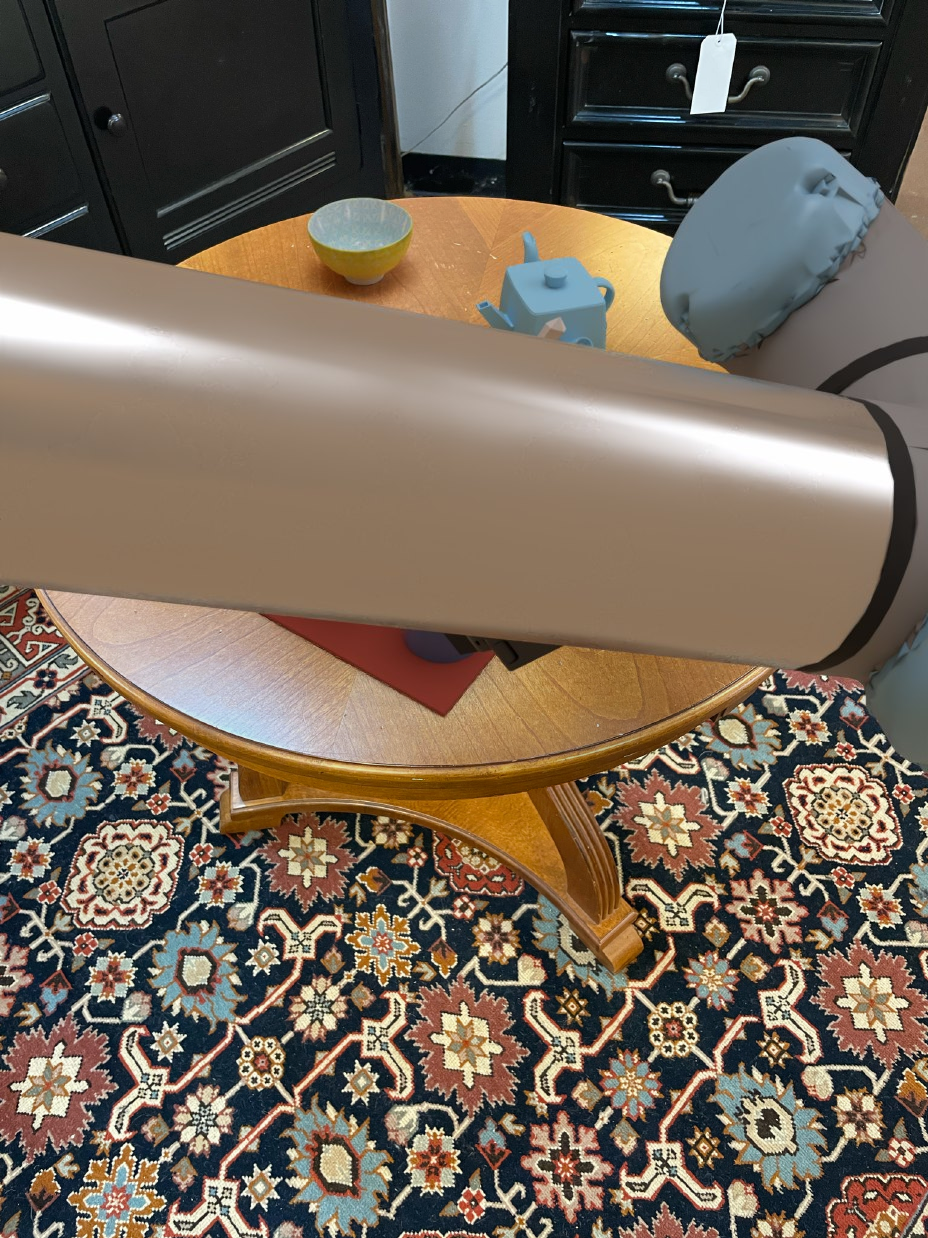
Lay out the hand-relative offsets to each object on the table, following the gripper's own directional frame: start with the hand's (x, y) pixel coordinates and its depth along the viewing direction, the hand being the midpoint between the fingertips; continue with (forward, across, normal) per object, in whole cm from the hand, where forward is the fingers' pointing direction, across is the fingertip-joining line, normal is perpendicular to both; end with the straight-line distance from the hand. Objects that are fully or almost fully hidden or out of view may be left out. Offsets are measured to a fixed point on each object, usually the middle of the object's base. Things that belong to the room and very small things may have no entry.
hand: (507, 570), depth 65 cm
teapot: (+20, +35, +5) cm, 40 cm away
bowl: (+38, +38, +23) cm, 58 cm away
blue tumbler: (+11, 0, -3) cm, 11 cm away
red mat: (+14, 0, 0) cm, 14 cm away
